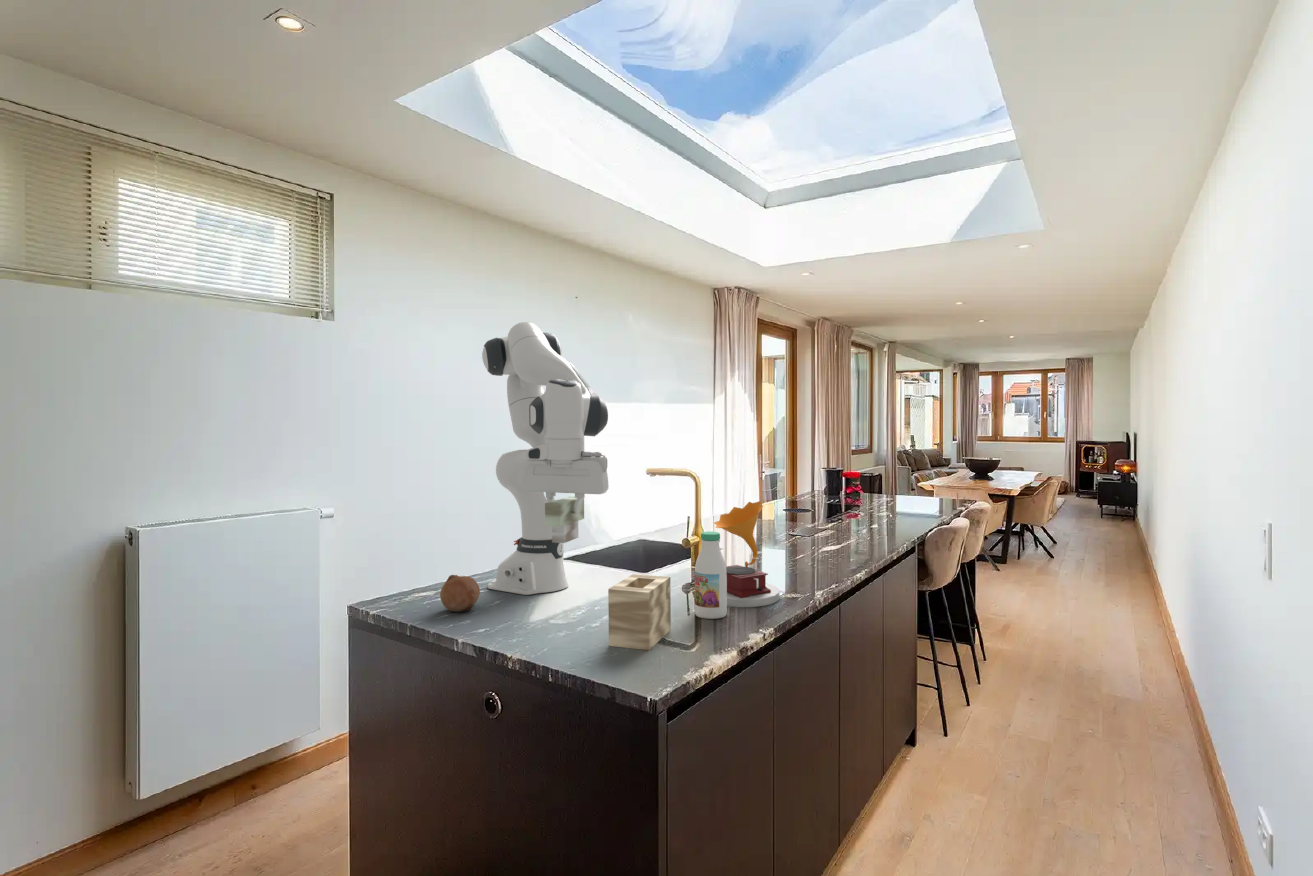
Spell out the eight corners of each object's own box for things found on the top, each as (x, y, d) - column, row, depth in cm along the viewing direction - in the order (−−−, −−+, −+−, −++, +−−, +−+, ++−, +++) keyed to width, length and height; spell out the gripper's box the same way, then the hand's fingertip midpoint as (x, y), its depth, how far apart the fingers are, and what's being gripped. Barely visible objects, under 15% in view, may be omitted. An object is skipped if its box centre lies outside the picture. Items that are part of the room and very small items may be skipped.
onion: (445, 623, 171) (427, 587, 171) (476, 605, 177) (459, 570, 177) (460, 617, 164) (442, 579, 164) (492, 599, 170) (474, 562, 171)
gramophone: (745, 583, 196) (745, 496, 196) (796, 599, 179) (796, 504, 178) (686, 593, 185) (686, 501, 185) (734, 612, 168) (734, 510, 167)
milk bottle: (709, 608, 171) (708, 528, 170) (733, 615, 165) (733, 532, 165) (688, 615, 166) (687, 532, 165) (712, 622, 160) (712, 536, 159)
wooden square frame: (649, 650, 141) (648, 592, 141) (608, 645, 144) (608, 589, 144) (670, 630, 154) (670, 577, 154) (633, 626, 157) (633, 574, 157)
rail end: (560, 545, 148) (559, 503, 148) (545, 544, 150) (544, 503, 149) (584, 535, 160) (583, 497, 159) (570, 534, 161) (570, 496, 160)
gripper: (612, 451, 153) (613, 512, 154) (532, 449, 160) (533, 508, 161) (601, 453, 147) (601, 517, 148) (518, 451, 154) (518, 512, 155)
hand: (565, 512), depth 154 cm, fingers closed on rail end, 4 cm apart
